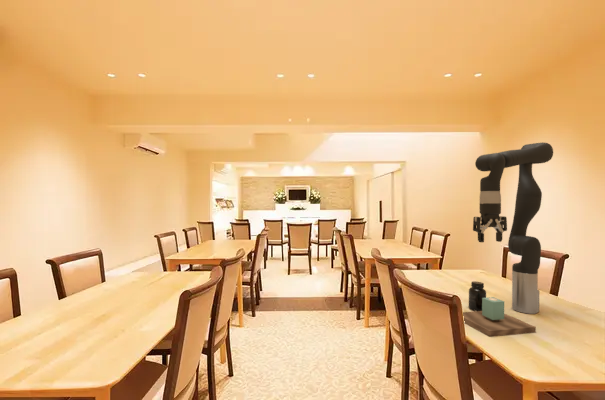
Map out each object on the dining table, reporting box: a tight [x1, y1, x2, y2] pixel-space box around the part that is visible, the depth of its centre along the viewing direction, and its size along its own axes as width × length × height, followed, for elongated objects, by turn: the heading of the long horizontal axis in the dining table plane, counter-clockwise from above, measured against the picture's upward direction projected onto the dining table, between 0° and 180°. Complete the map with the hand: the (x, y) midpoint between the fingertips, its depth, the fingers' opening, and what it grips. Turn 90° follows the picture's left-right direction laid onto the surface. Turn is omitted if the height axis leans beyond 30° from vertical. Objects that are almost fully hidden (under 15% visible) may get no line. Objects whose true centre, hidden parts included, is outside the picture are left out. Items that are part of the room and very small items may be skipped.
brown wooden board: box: [463, 310, 537, 337], centre depth 120 cm, size 20×18×9 cm
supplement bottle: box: [468, 280, 487, 312], centre depth 137 cm, size 7×7×12 cm
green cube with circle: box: [482, 296, 505, 320], centre depth 120 cm, size 5×5×7 cm
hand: (490, 241), depth 125 cm, fingers open, 8 cm apart
